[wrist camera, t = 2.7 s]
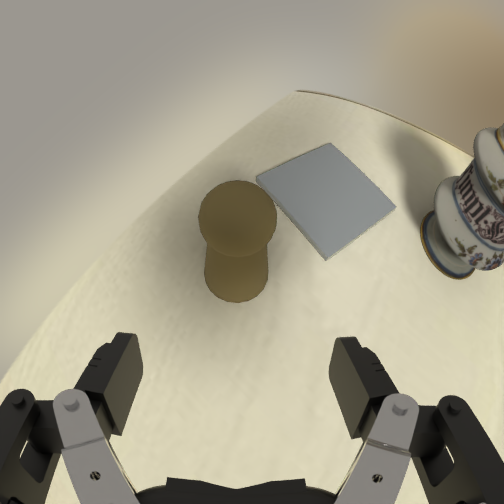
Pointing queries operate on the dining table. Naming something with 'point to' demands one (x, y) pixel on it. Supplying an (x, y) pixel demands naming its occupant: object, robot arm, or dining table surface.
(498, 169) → the apothecary jar
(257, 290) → the brown pawn
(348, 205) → the slate tile
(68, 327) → the dining table surface
